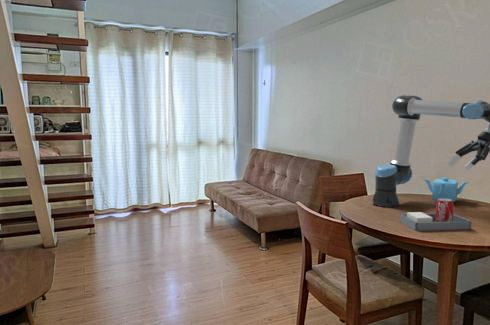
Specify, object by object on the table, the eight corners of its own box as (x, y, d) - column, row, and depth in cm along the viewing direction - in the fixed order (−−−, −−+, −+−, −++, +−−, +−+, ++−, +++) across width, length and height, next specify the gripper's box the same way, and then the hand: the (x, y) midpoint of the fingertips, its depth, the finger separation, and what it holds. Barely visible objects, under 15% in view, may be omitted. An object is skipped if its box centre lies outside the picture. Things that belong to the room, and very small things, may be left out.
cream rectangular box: (416, 228, 161) (417, 218, 161) (406, 222, 171) (406, 212, 171) (432, 228, 162) (432, 217, 161) (421, 222, 172) (421, 212, 171)
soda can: (455, 226, 163) (456, 201, 161) (438, 226, 164) (439, 201, 163) (449, 222, 170) (450, 197, 168) (433, 222, 171) (434, 197, 170)
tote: (415, 232, 159) (415, 223, 158) (399, 223, 174) (400, 214, 174) (470, 231, 159) (471, 221, 159) (450, 221, 175) (450, 212, 174)
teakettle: (446, 197, 227) (447, 174, 225) (470, 203, 209) (471, 179, 207) (420, 199, 224) (421, 176, 222) (441, 206, 205) (442, 181, 204)
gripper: (514, 142, 161) (479, 176, 163) (478, 139, 186) (448, 168, 188) (503, 131, 160) (468, 164, 162) (468, 129, 185) (438, 158, 187)
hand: (457, 166), depth 175 cm, fingers open, 13 cm apart
